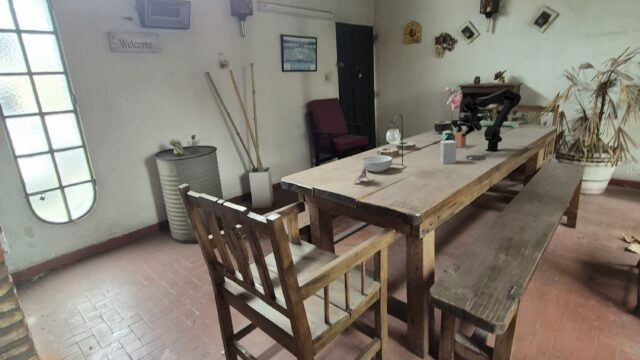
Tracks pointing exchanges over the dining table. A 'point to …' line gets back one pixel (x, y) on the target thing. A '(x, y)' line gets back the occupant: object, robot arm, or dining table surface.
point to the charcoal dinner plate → (475, 157)
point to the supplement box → (448, 152)
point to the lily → (363, 174)
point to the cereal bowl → (377, 163)
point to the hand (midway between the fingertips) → (459, 136)
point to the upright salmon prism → (460, 139)
